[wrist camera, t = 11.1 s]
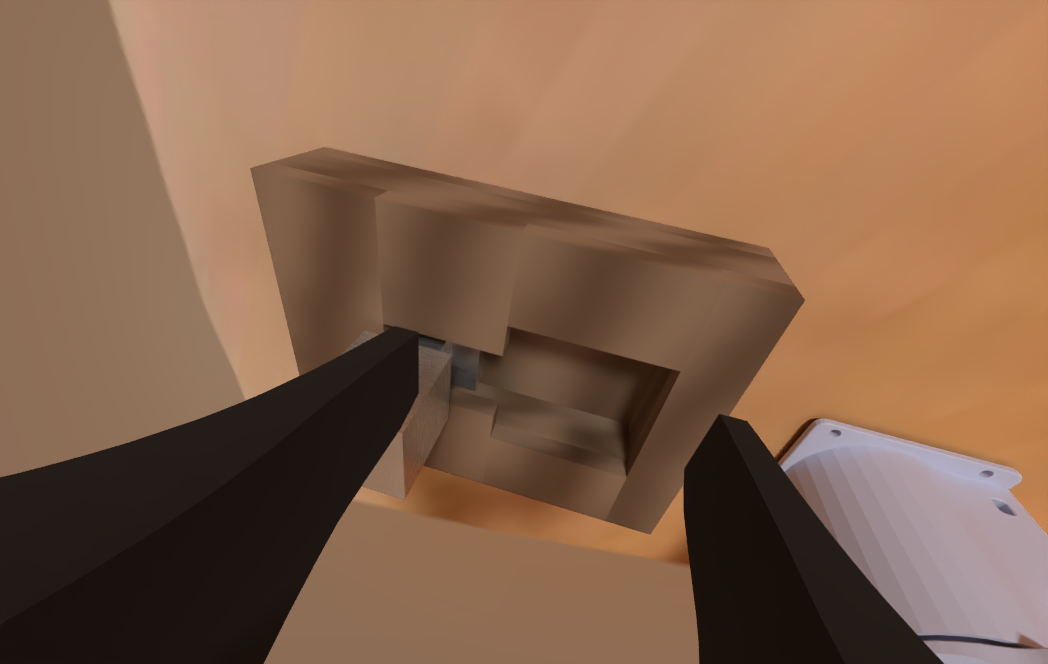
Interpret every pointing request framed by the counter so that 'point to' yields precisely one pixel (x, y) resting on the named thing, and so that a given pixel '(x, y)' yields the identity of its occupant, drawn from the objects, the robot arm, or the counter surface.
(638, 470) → the keyhole plate
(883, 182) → the counter surface
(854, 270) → the counter surface
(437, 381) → the keyed peg
